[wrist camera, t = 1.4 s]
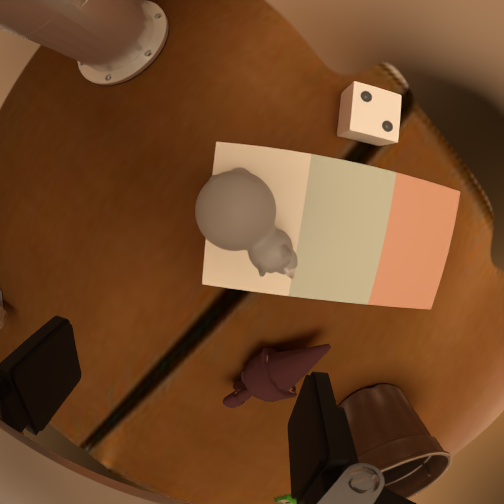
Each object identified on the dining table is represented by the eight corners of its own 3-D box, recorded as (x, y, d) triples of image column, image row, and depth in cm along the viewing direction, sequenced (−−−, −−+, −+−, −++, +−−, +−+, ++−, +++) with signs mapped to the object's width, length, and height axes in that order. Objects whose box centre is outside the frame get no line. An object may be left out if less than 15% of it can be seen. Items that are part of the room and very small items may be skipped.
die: (341, 93, 27) (354, 80, 22) (382, 104, 27) (401, 94, 22) (336, 136, 28) (350, 129, 23) (379, 145, 28) (398, 142, 23)
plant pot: (375, 443, 41) (396, 510, 26) (301, 432, 40) (309, 514, 25) (431, 381, 37) (472, 450, 21) (356, 362, 36) (391, 453, 20)
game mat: (216, 141, 29) (216, 141, 29) (459, 191, 29) (460, 191, 29) (202, 283, 33) (202, 284, 33) (430, 308, 33) (430, 309, 33)
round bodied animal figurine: (262, 282, 33) (261, 318, 25) (193, 199, 31) (167, 210, 22) (314, 244, 31) (330, 269, 23) (244, 156, 29) (237, 150, 21)
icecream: (310, 332, 27) (201, 387, 32) (346, 384, 27) (237, 429, 31) (314, 310, 34) (222, 362, 38) (344, 356, 34) (252, 400, 38)
